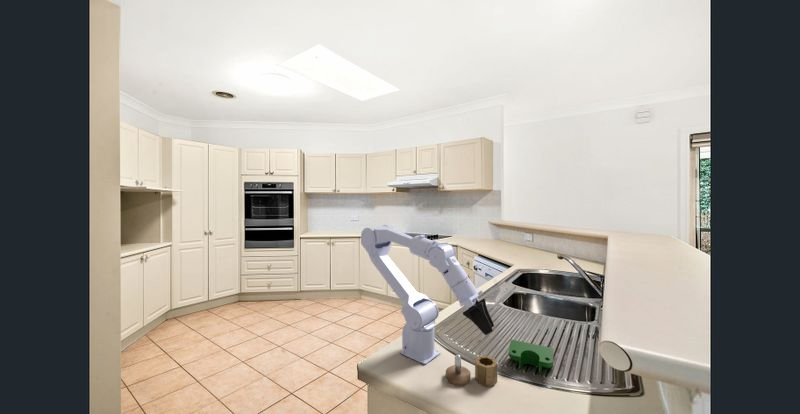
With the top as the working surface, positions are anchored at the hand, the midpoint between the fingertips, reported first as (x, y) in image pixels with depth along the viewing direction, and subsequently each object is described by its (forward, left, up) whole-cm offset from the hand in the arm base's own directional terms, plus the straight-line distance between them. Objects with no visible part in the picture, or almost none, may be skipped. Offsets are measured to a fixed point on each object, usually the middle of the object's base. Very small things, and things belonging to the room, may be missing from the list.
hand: (490, 330), depth 78 cm
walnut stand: (-7, -4, -14) cm, 16 cm away
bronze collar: (-1, 0, -14) cm, 14 cm away
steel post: (-7, -4, -12) cm, 15 cm away
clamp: (+6, +13, -14) cm, 20 cm away
